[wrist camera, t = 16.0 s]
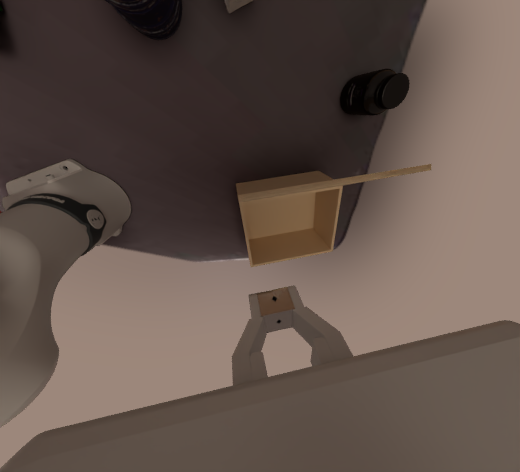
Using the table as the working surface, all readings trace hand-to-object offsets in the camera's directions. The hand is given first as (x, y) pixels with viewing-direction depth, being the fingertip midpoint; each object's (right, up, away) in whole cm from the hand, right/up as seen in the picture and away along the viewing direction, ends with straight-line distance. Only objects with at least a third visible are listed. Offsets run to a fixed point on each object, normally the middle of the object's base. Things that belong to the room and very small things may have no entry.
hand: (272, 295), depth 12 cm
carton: (+5, +12, +41) cm, 43 cm away
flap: (+7, +11, +17) cm, 21 cm away
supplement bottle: (+20, +35, +29) cm, 49 cm away
